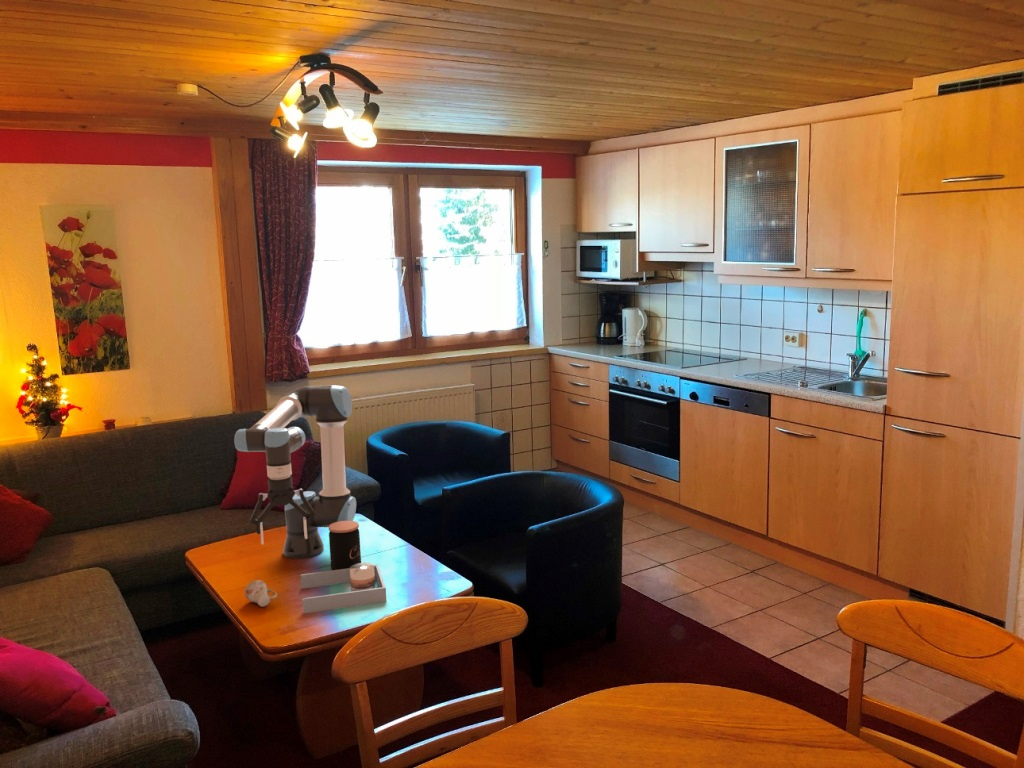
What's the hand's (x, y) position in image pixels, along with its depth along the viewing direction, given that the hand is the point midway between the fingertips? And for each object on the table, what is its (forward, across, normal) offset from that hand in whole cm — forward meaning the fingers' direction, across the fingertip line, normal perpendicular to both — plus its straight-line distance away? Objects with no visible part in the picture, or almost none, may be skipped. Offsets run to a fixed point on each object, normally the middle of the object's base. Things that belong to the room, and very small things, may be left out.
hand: (284, 540), depth 265 cm
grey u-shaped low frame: (+22, +17, 0) cm, 28 cm away
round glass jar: (+22, +24, 0) cm, 33 cm away
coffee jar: (+22, +21, +19) cm, 36 cm away
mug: (+22, -5, +2) cm, 22 cm away
